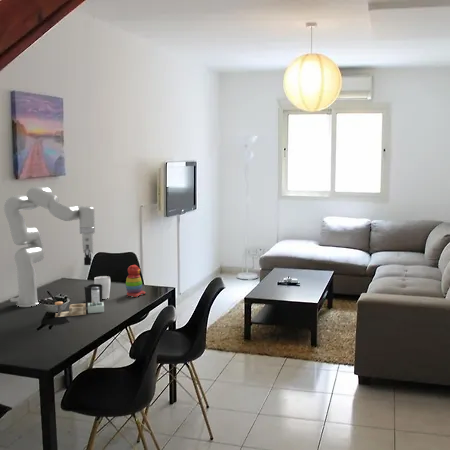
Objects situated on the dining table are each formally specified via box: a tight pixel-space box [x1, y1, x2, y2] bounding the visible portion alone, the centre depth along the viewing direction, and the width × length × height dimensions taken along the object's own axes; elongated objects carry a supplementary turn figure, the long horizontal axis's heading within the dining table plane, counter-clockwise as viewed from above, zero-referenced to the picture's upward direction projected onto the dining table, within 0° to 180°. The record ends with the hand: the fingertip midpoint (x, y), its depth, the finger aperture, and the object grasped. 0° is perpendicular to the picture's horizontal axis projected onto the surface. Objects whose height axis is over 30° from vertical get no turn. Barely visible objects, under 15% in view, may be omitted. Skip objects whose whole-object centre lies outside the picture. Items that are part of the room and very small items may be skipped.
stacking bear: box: [125, 264, 147, 297], centre depth 321 cm, size 11×10×18 cm
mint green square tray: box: [87, 301, 105, 314], centre depth 287 cm, size 8×8×4 cm
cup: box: [93, 275, 112, 300], centre depth 315 cm, size 9×9×12 cm
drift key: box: [54, 300, 64, 312], centre depth 280 cm, size 4×4×4 cm
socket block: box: [54, 302, 87, 318], centre depth 282 cm, size 15×9×6 cm, turn 103°
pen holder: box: [83, 283, 103, 305], centre depth 303 cm, size 9×9×10 cm
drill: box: [91, 287, 100, 306], centre depth 286 cm, size 4×4×12 cm
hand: (87, 263), depth 288 cm, fingers open, 9 cm apart
